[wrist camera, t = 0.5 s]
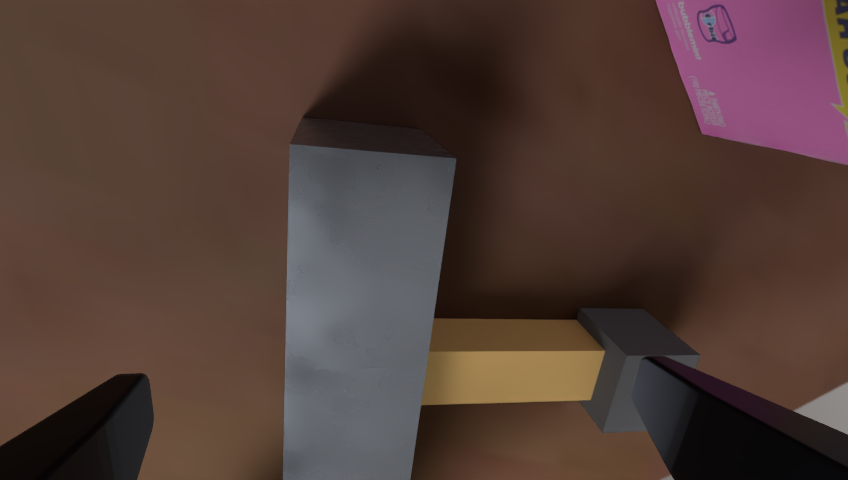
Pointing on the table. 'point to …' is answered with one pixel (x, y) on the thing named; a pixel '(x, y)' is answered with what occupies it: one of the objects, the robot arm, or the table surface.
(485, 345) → the plug
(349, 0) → the table surface
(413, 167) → the block
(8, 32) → the table surface
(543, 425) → the table surface
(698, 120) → the gum box
